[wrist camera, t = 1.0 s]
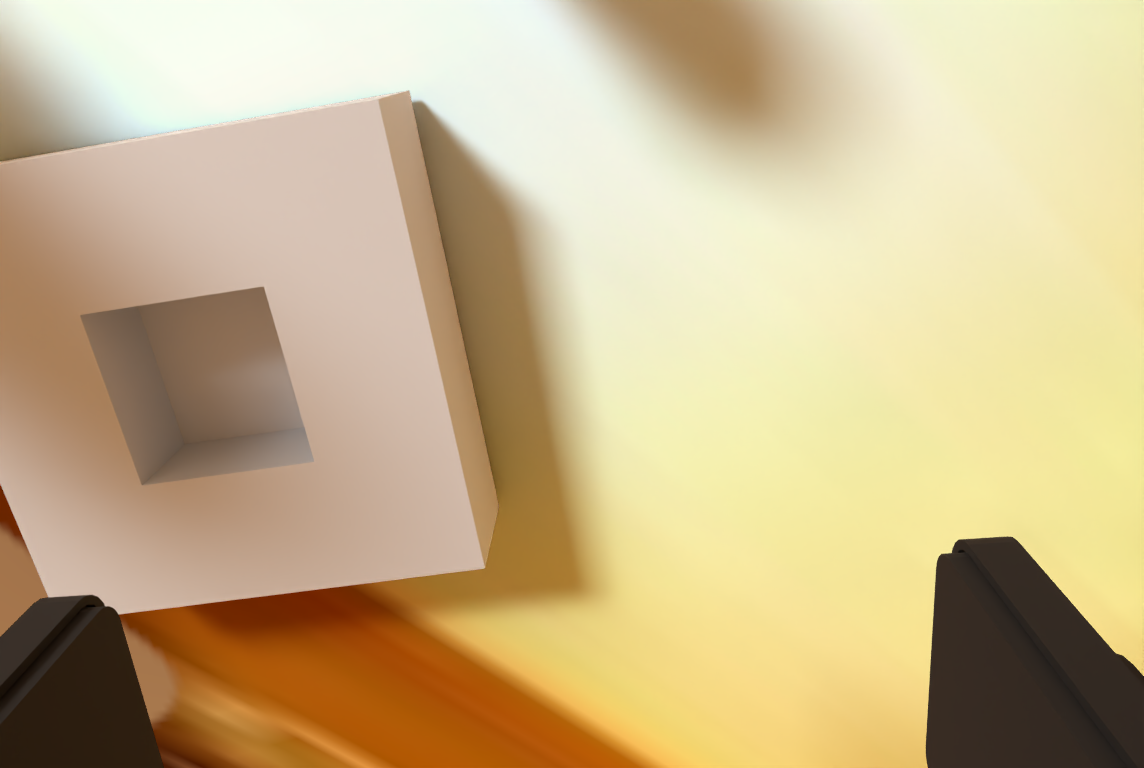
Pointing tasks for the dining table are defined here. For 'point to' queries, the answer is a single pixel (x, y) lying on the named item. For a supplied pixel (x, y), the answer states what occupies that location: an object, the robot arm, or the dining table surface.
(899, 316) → the dining table surface
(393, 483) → the socket block
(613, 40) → the dining table surface
